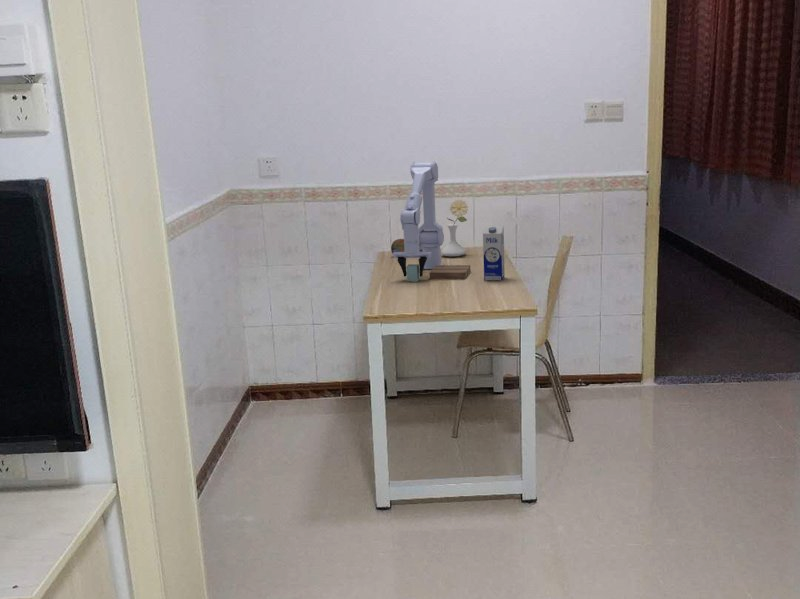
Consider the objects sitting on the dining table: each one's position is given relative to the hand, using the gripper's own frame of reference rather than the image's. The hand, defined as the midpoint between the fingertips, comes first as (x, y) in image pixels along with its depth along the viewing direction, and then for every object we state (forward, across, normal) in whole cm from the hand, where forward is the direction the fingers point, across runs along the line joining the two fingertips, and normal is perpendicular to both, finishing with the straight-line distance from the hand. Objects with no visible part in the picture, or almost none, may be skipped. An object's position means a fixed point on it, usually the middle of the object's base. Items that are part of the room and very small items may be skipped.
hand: (413, 276), depth 305 cm
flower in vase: (+2, +9, +49) cm, 50 cm away
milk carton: (+2, +31, +2) cm, 31 cm away
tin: (+2, -12, +48) cm, 50 cm away
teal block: (+2, 0, 0) cm, 2 cm away
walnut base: (+2, +13, +9) cm, 16 cm away
